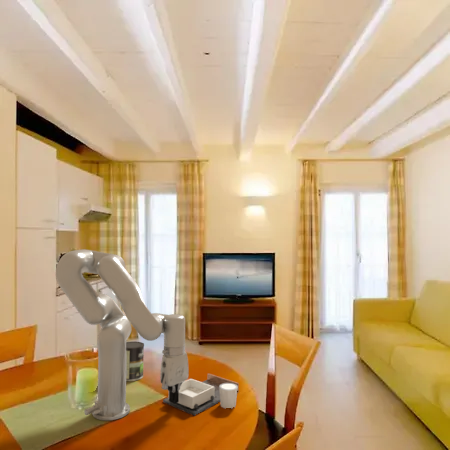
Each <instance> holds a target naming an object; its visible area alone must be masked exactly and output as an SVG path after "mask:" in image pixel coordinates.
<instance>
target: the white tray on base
mask: <svg viewBox="0 0 450 450" xmlns="http://www.w3.org/2000/svg"><path fill="white" fill-rule="evenodd" d="M202 382H203V381H199V380H196V379H193V378H188V379H187V380H185V381H184V382H183V383H182V384H181V386H180V390H179V402H177V403H179V404H182V405H184V406H187V407H189V408H192V409H193V408H198V406H199V405H201V404H203V403H205V402H207V401H208V400H210V399H211V400H213V399H214V394H215V387H214V386H211V385H208V384H205V383H202ZM167 398H168V399H169V395H168V396H167Z"/></svg>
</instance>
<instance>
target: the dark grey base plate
mask: <svg viewBox="0 0 450 450" xmlns="http://www.w3.org/2000/svg"><path fill="white" fill-rule="evenodd" d="M201 382H202V383H205V384H208V385H211V386H214V387H215V394H214V399H213V400H211V399H210V400H208V401H207V402H205V403H203V404H201V405H199V406H198V408H193V409H192V408H189V407H187V406H184V405H182V404H179V403H177V402H176V403H175V404H174V403H172V402H170V401H169V399H168V397H165V398H163V399H162V402H163V404H166V405H168V406H171V407H173V408H176V409H178V410H180V411H183V412H185V413H187V414H189V415H192V416H197V415H199V414H201V413H202V412H205V411H206V410H207V409H210V408H212V407H213V406H215V405H216V404H219V403H220V389H219V386H220V385H221V384H223V383H233V384H236V385H237V386H238V389H237V391H238V392H239V389H240V388H239V382H236V381H233V380H230V379H227V378H224V377H221V376H217V375H215V374H212V373H207V379H206V380H203V381H201ZM218 402H219V403H218ZM200 412H201V413H200ZM198 413H199V414H198ZM196 414H197V415H196Z"/></svg>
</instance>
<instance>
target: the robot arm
mask: <svg viewBox="0 0 450 450" xmlns="http://www.w3.org/2000/svg"><path fill="white" fill-rule="evenodd" d="M55 267H56V268H55V279H56V282H57V284H58V286H59V288H60V290H61V291H62V292H63V293H64V294H65V296H66V297H67V299H68V300H69V302H71V304H72V305H73V307H74V308H75V309H76V311H77V312H78V313H79V315H80V316H81V317H82V318H83V320H84V321H85V322H86V323H87V324H89V325H92V326H97V325H99V326H100V327H101V329H100V330H99V332H98V335H97V353H98V354H97V355H98V361H97V362H98V367H97V369H98V371H97V373H98V374H97V400H96V401H94V405H92V406H91V407H88V408H86V409H84V410H83V412H84V415H85V416H88V415H91V414H92V416H93V418H95V419H97V420H100V421H113V420H114V421H115V420H118V419H119V420H120V419H122V418H123V417H125V416H127V415H128V414H129V413H130V411H131V406H130V405H129V403H128V402H127V401H126V399H127V381H126V362H127V357H126V342H127V340H128V338H129V337H130V335H131V333H132V328H134V330H135V331H136V332H137V333H138V335H140V337H141V338H142V339H144V340H146V341H155V340H156V341H157V339H159V338H160V337H161V334H163V350H162V352H161V353H162V354H163V355H162V359H161V363H160V364H161V365H160V376H159V377H160V380H159V381H160V384H161V389H162V390H167V391H168V396H169V401H170V402H172V403H174V404H175V403H176V402H179V390H180V386H181V384H182V383H183V382H184V381H187V380H189V371H190V370H189V358H188V353H187V352H186V317H185V316H184V315H183V314H178V313H173V314H164V313H159V312H153V313H152V312H151V311H150V309H149V308H148V307H147V304H146V303H145V301H144V298H143V295H142V291H141V288H140V286H139V285H138V283H137V282H136V281H135V279H134V278H133V277H132V275H131V274H130V273H129V271H128V270H127V269H126V261H125V260H124V258H123V257H121V256H120V255H119V254H113V253H108V252H101V251H97V250H91V249H84V248H83V249H75V250H70V251H68V252H66V253H64V254H63V255H62V256H61V258H60V259H59V260H58V263H56V266H55ZM84 273H88V274H94V275H98V276H99V277H100V279H101V280H102V281H103V282H104V284H105V285H106V286H107V288H108V289H109V291H110V292H111V293H112V294H113V296H114V297H115V298H116V299H117V301H118V302H119V305H120V306H119V305H118V304H117V303H116V302H115V300H114V299H113V298H112V297H111V296H109V295H107V294H105V293H98V292H97V291H96V290H95V289H94V287H93V285H92V284H91V283H90V282H89V281H88V280H87V279H86V278H85V277H84V275H83V274H84ZM120 307H121V308H120Z"/></svg>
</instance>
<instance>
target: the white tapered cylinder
mask: <svg viewBox="0 0 450 450" xmlns="http://www.w3.org/2000/svg"><path fill="white" fill-rule="evenodd" d="M219 389H220V402H219V403H220V407H221V408H223V409H226V408H231V409H234V408H236V406H237V396H238V392H237V389H238V386H237V385H236V384H233V383H223V384H221V385H220V386H219ZM238 390H239V389H238ZM233 407H234V408H233Z"/></svg>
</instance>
